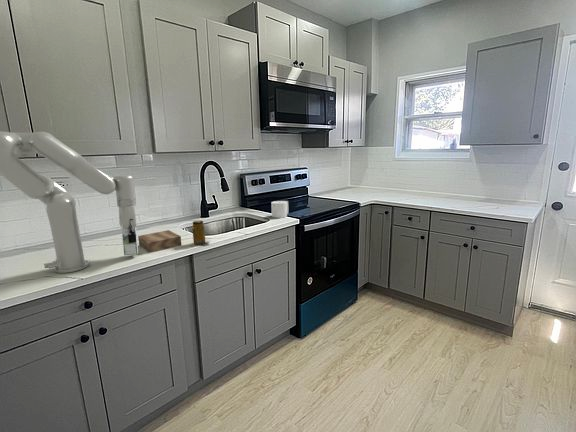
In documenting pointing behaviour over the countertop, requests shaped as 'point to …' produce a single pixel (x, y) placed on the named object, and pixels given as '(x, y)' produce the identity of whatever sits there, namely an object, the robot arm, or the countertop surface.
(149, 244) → the block
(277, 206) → the toilet tissue
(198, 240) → the condiment
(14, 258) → the countertop surface
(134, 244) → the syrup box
